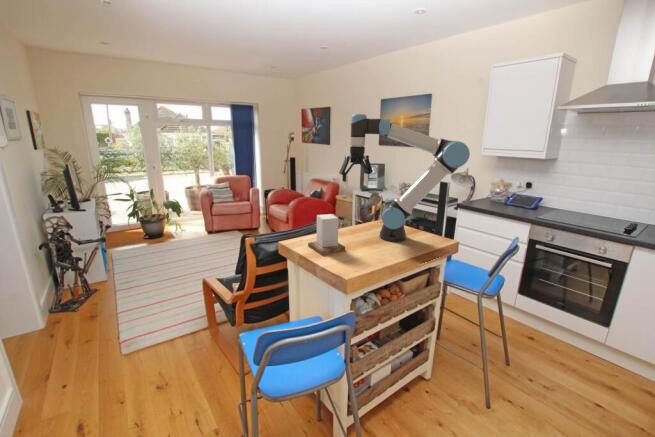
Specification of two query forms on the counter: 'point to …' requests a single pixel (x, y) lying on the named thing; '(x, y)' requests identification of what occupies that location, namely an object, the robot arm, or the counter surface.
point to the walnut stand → (325, 248)
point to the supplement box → (327, 230)
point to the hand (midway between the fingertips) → (355, 186)
